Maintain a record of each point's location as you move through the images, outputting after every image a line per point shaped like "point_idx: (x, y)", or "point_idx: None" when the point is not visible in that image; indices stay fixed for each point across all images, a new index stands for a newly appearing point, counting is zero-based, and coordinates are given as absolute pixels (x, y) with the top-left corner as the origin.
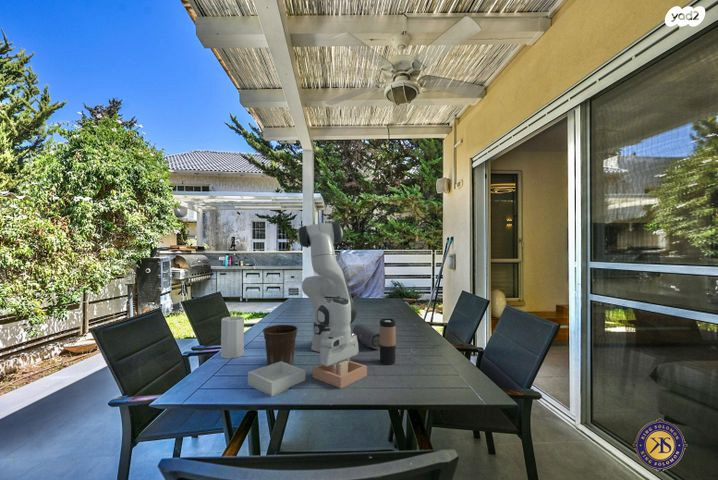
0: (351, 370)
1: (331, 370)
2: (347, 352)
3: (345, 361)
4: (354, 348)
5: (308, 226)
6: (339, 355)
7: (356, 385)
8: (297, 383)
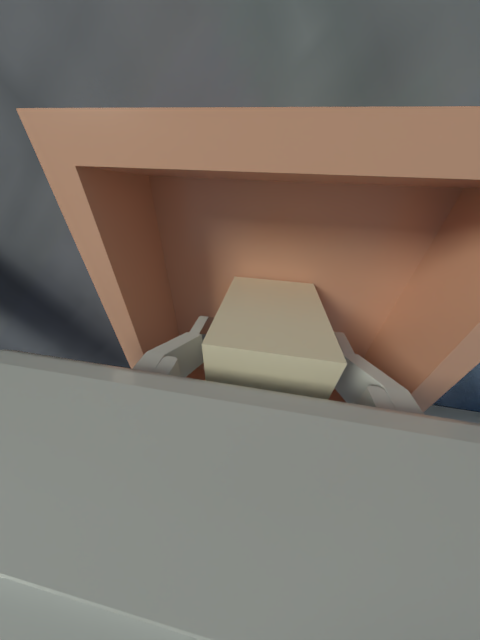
0: (167, 298)
1: None
2: (133, 484)
3: (230, 359)
4: None
5: None
6: (423, 552)
7: (311, 105)
8: (457, 419)
